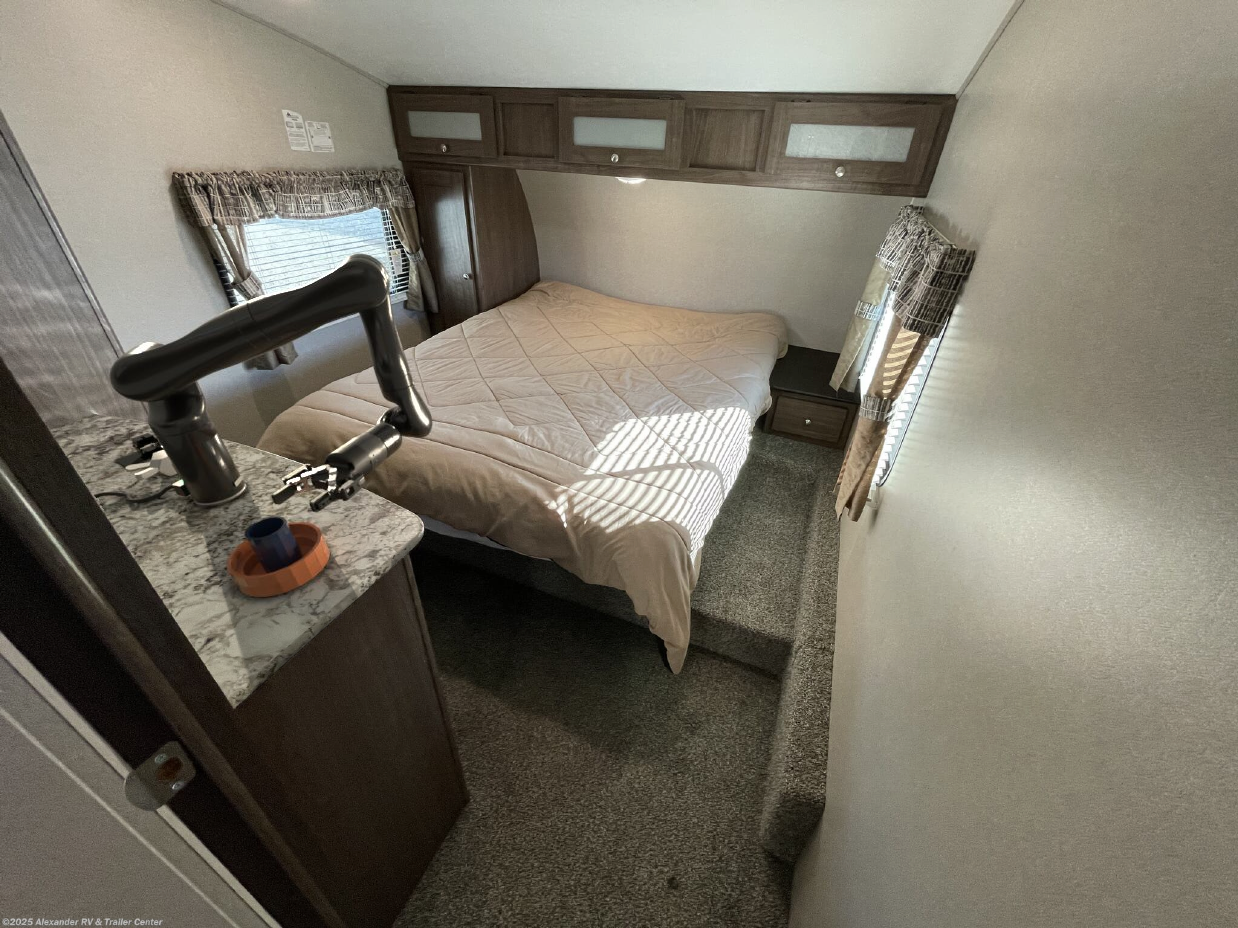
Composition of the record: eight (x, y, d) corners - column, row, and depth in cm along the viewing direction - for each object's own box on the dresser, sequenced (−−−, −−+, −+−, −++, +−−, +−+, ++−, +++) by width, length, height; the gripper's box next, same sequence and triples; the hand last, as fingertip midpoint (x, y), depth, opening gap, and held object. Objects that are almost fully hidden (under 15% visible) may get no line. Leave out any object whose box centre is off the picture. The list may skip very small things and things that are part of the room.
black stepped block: (128, 468, 117) (116, 452, 115) (115, 461, 120) (103, 444, 118) (186, 445, 126) (177, 429, 124) (173, 438, 129) (163, 423, 127)
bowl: (219, 589, 83) (205, 568, 81) (288, 536, 95) (277, 516, 92) (285, 606, 80) (273, 585, 77) (348, 549, 91) (339, 529, 89)
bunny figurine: (215, 446, 117) (134, 469, 106) (222, 465, 119) (144, 490, 108) (197, 436, 121) (118, 458, 110) (204, 455, 124) (127, 478, 112)
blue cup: (258, 574, 85) (235, 535, 80) (286, 552, 90) (266, 513, 85) (285, 581, 84) (264, 541, 79) (312, 557, 89) (294, 519, 84)
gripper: (323, 437, 100) (253, 481, 87) (382, 446, 96) (318, 493, 83) (335, 468, 104) (270, 514, 91) (392, 478, 100) (332, 527, 87)
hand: (293, 504), depth 87 cm, fingers open, 8 cm apart
